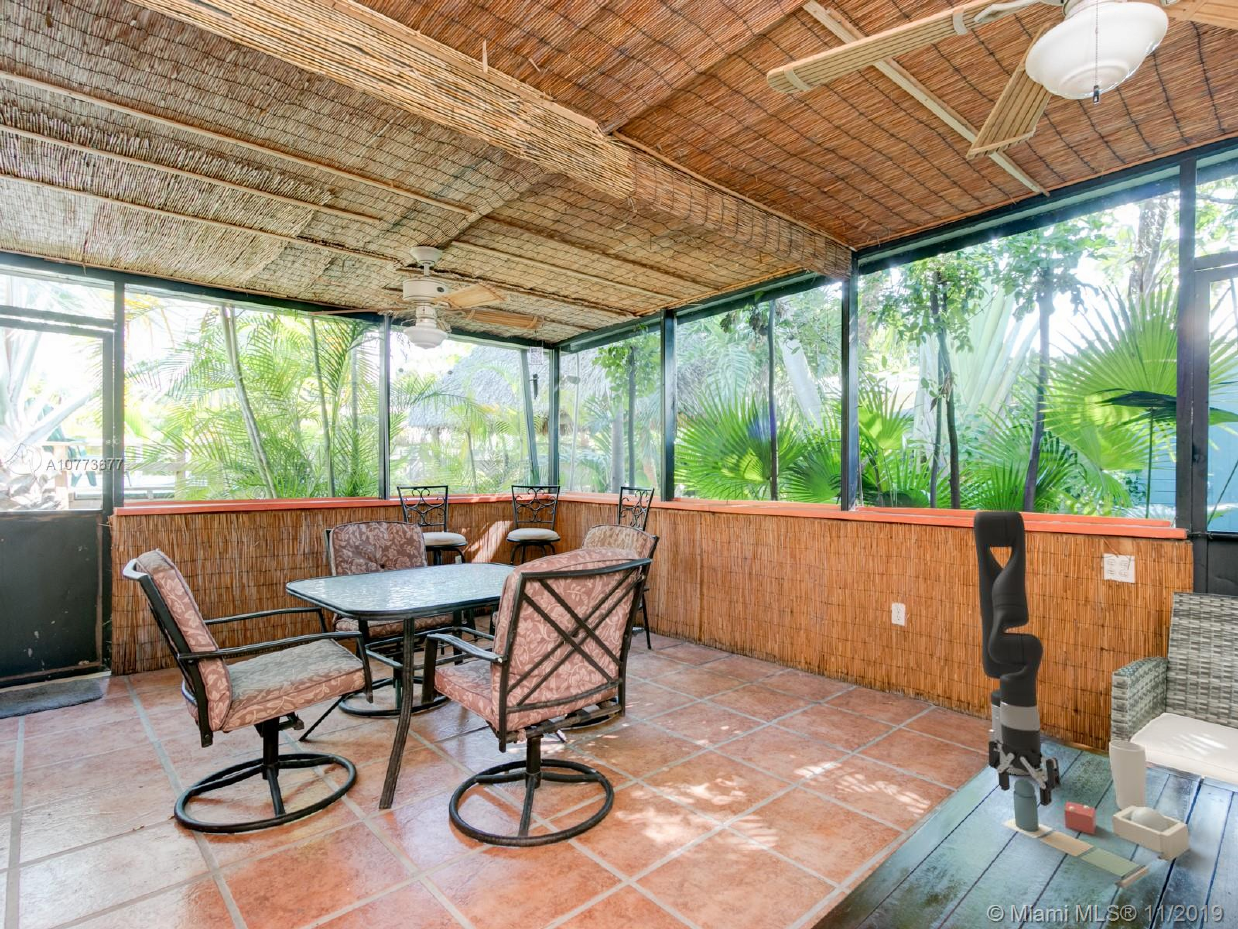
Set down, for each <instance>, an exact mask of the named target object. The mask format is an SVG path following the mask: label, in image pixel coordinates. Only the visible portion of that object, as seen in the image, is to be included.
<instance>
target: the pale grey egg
mask: <svg viewBox="0 0 1238 929" xmlns="http://www.w3.org/2000/svg"><path fill="white" fill-rule="evenodd" d="M1161 814H1162V813H1160V812H1159V811H1158V810H1156V809H1154V808H1151V807H1149V806H1146V807H1139V808H1137V809H1135V810H1134V811H1133V813H1132V816H1131V821H1132V822H1135V823H1137V824H1140V825H1143V826H1146V827H1148V828H1151V829H1154V830H1156V831H1159V832H1164V831H1166V830H1167V829H1168V825H1167V822H1166V820H1165V818H1164V817H1163V816H1162V815H1163V814H1162V815H1161Z"/></svg>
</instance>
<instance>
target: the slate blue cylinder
mask: <svg viewBox="0 0 1238 929" xmlns="http://www.w3.org/2000/svg"><path fill="white" fill-rule="evenodd" d="M1013 788H1014V790H1013V806H1014V808H1013V809H1014V818H1015V825H1016V826H1017V827H1018V828H1020V829H1022V830H1025V831H1030V832H1035V831H1038V830H1039V825H1038V823H1039V813H1038V811H1039V810H1038V798H1037V794H1036V788H1035V786H1034V785H1033V783H1032V782H1031V781H1029V780H1027V779H1025V778H1020V779H1017V780H1016V781H1015V782H1014V784H1013Z"/></svg>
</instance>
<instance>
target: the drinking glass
mask: <svg viewBox="0 0 1238 929" xmlns="http://www.w3.org/2000/svg"><path fill="white" fill-rule="evenodd" d="M1108 754H1109V763H1110V769H1111V775H1112V781H1113V787H1114V791H1115V792H1114V793H1115V797H1116V799H1115V800H1116V806H1117V807H1118V809H1119V810H1120V811H1122V810H1124V809H1126V808H1128V807H1130V806H1132V805H1133V806H1136V807H1147V806H1146V792H1147V790H1146V789H1147V787H1146V786H1147V757H1146V750H1145V747H1144V746H1142V745H1140V744H1139V743H1136V742H1131V741H1127V740H1120V739H1119V740H1118V739H1117V740H1116V739H1115V740H1111V741H1108Z"/></svg>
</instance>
